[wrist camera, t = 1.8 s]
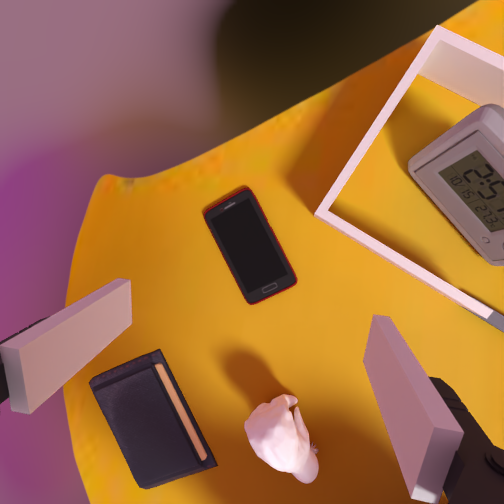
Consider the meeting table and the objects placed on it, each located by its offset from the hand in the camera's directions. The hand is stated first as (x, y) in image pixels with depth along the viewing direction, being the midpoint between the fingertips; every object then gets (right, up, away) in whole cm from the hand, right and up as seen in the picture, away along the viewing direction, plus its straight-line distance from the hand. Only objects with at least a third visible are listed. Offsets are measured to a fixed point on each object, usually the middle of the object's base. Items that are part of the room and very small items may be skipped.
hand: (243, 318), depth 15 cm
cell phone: (0, +4, +24) cm, 24 cm away
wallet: (-15, -23, +30) cm, 41 cm away
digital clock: (+25, +9, +18) cm, 33 cm away
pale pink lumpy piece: (+6, -21, +25) cm, 33 cm away
